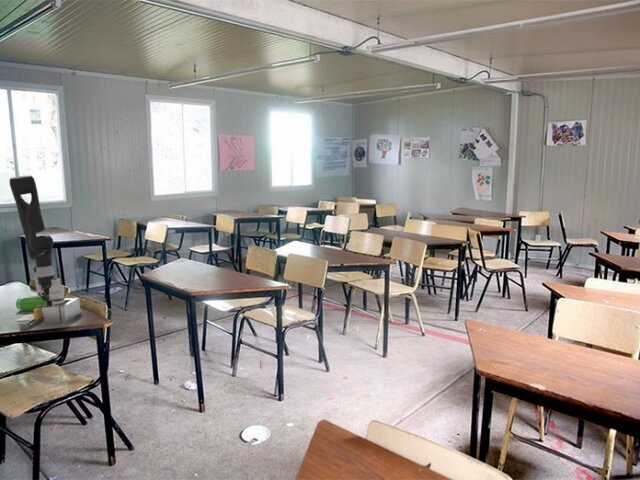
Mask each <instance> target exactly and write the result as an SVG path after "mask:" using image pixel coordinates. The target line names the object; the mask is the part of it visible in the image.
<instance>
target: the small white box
mask: <svg viewBox="0 0 640 480" xmlns="http://www.w3.org/2000/svg"><path fill="white" fill-rule="evenodd" d="M64 300H65V304H64V305H51V306H44V307H42V311H43V317H41V318H40V319H38V320H36V321H35V318H34V319H32V320H30V321H25V322H18V323H19V324H18V325H19V330H29V329H32V328H33V327H35V326H36V325H38V324H40V323H42V322H44V323H43V324H60V323H61V324H64V323H65V324H66V323H68V322H69V321H71V320H72V319H74V318H75V317H77V316H79V315H80V314H81V313H82V311H81V304H80V298H79V297H75V298H74V297H70V298H69V297H68V298H67V297H64ZM70 319H71V320H70ZM67 321H68V322H67Z"/></svg>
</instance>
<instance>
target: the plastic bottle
mask: <svg viewBox="0 0 640 480" xmlns="http://www.w3.org/2000/svg"><path fill="white" fill-rule="evenodd" d="M51 283H52V286H51V287H50V290H49V291H50V295H51V298H52V304H53V305H64V304H65V300H64V298H65V287H64V285H63V284H62V283H61V280H60V278H59V277H58V278H55V279H52V280H51Z"/></svg>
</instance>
